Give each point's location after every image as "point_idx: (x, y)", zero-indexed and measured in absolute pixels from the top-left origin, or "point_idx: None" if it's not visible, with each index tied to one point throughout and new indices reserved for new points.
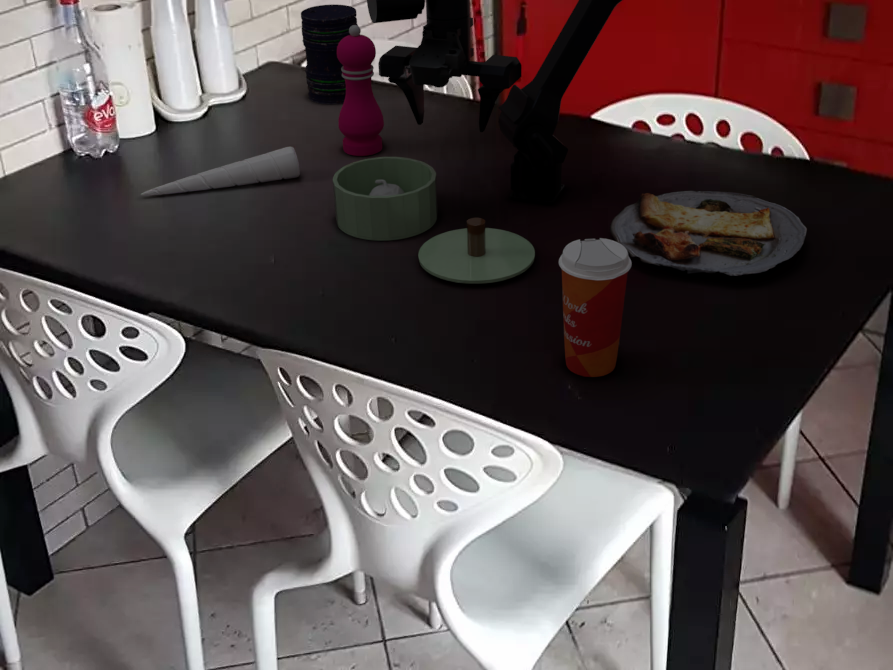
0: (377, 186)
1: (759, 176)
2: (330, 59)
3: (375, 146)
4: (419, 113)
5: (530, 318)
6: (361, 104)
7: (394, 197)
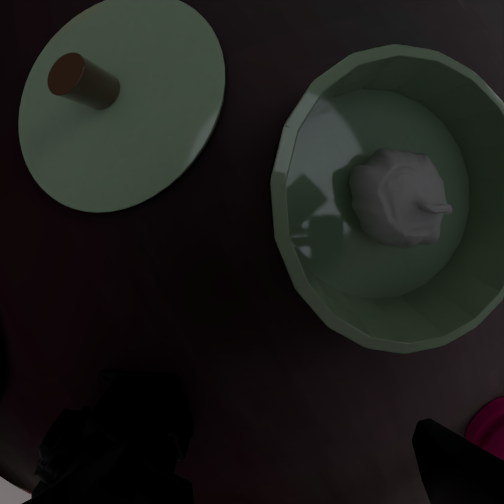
0: (439, 200)
1: (6, 459)
2: None
3: (476, 426)
4: (439, 454)
5: (11, 17)
6: None
7: (333, 66)
